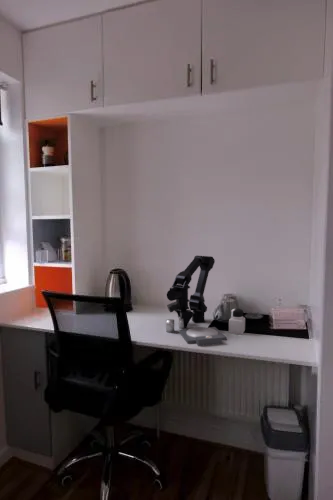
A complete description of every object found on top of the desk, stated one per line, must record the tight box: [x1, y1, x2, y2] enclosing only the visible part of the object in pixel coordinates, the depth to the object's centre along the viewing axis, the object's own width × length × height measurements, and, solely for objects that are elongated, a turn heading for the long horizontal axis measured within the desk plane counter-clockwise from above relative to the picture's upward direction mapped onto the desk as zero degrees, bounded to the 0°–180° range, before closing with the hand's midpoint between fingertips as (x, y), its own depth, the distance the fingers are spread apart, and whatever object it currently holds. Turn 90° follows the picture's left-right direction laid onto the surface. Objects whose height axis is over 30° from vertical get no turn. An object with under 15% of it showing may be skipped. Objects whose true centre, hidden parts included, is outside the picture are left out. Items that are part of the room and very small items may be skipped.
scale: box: [178, 326, 228, 347], centre depth 163 cm, size 20×20×3 cm
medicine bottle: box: [228, 308, 246, 335], centre depth 171 cm, size 7×7×12 cm
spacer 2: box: [178, 316, 188, 330], centre depth 178 cm, size 4×4×6 cm
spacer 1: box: [165, 318, 175, 334], centre depth 173 cm, size 4×4×6 cm
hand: (182, 325), depth 179 cm, fingers open, 9 cm apart
